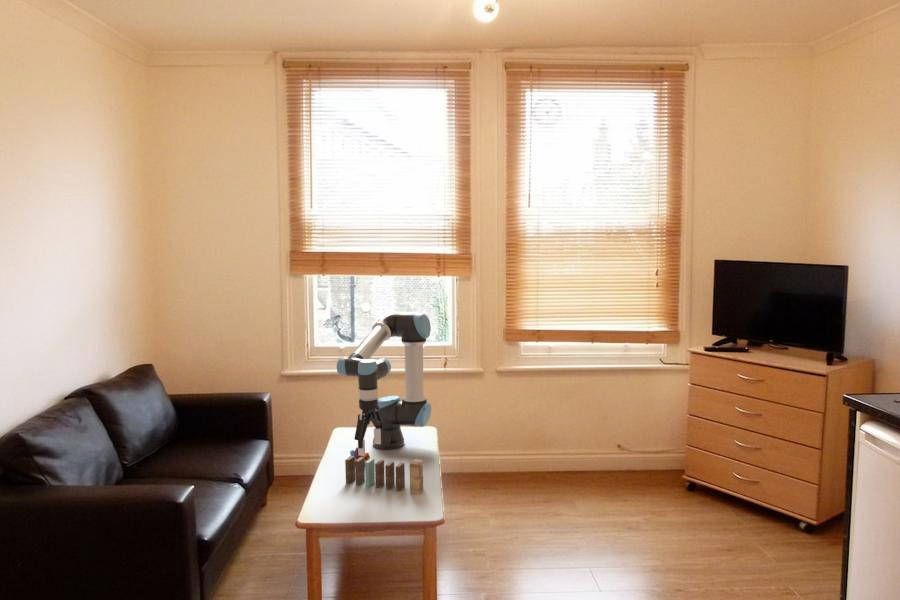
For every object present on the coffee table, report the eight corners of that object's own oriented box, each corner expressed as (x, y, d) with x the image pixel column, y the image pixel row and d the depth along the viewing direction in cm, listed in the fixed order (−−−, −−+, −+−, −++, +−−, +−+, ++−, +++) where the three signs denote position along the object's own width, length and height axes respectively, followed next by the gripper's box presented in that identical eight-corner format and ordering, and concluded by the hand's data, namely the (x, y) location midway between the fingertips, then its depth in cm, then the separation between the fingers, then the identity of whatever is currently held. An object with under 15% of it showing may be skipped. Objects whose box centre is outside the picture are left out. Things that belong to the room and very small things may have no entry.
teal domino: (365, 486, 246) (365, 462, 245) (371, 481, 251) (370, 458, 250) (369, 486, 246) (368, 462, 245) (374, 482, 251) (374, 458, 250)
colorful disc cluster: (366, 468, 267) (365, 451, 266) (345, 466, 269) (344, 450, 268) (372, 461, 275) (372, 445, 274) (352, 459, 277) (351, 443, 276)
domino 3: (375, 487, 245) (375, 463, 244) (381, 483, 250) (380, 459, 249) (379, 488, 244) (378, 464, 243) (384, 483, 249) (384, 460, 248)
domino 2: (355, 484, 248) (355, 461, 247) (361, 480, 253) (361, 456, 252) (359, 485, 247) (358, 461, 246) (364, 480, 252) (364, 457, 251)
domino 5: (395, 491, 242) (395, 466, 241) (401, 486, 246) (400, 462, 245) (399, 491, 241) (399, 467, 240) (404, 486, 246) (404, 462, 245)
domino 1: (345, 483, 250) (345, 459, 248) (351, 478, 254) (351, 455, 253) (349, 484, 249) (348, 460, 248) (355, 479, 254) (354, 456, 253)
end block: (415, 488, 244) (414, 459, 243) (423, 489, 243) (422, 460, 242) (410, 493, 240) (409, 463, 238) (418, 494, 238) (417, 464, 237)
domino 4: (385, 489, 243) (385, 465, 242) (391, 484, 248) (390, 460, 247) (389, 490, 243) (388, 465, 242) (394, 485, 247) (394, 461, 246)
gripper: (374, 389, 258) (375, 438, 260) (344, 406, 234) (346, 459, 237) (390, 391, 255) (391, 440, 258) (361, 408, 232) (363, 461, 234)
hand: (369, 449), depth 247 cm, fingers open, 13 cm apart
